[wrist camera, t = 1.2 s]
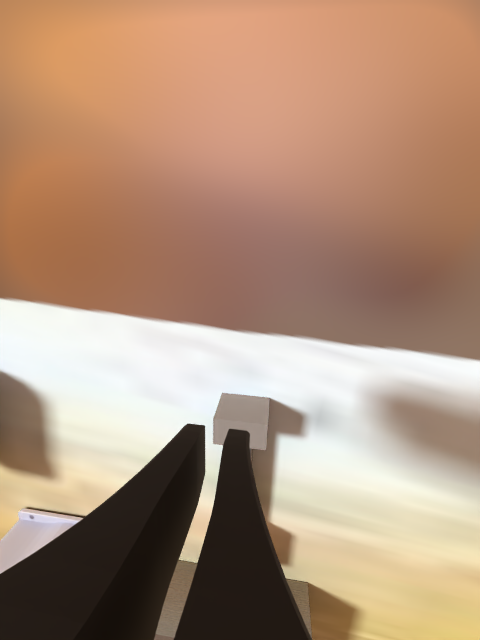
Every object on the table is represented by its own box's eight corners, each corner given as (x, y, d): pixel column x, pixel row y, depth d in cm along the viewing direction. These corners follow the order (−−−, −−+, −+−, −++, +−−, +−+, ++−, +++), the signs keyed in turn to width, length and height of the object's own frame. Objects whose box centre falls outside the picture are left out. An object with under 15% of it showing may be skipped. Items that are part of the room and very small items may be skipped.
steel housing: (173, 598, 30) (151, 674, 25) (170, 558, 28) (146, 632, 23) (300, 623, 28) (305, 709, 23) (307, 582, 26) (314, 666, 21)
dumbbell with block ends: (216, 544, 26) (209, 582, 23) (218, 392, 21) (209, 418, 18) (260, 551, 26) (258, 591, 23) (273, 398, 21) (272, 425, 18)
